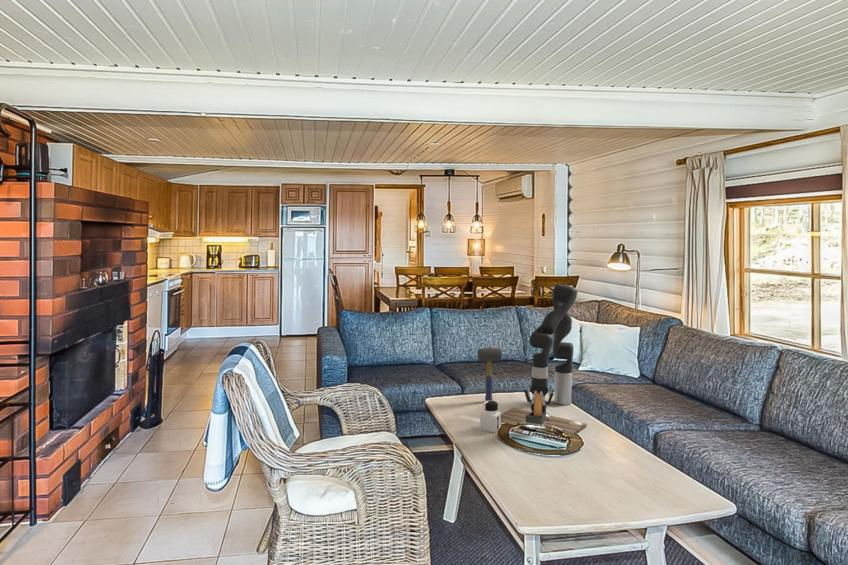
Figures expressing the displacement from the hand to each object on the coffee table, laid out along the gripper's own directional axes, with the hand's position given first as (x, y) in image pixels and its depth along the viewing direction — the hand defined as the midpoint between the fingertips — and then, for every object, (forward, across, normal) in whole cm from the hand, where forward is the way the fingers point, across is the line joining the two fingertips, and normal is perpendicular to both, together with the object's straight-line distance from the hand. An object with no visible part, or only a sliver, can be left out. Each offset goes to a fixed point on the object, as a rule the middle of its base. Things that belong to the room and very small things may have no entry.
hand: (538, 411), depth 249 cm
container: (+9, -21, -8) cm, 24 cm away
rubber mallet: (+9, -32, +35) cm, 48 cm away
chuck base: (+8, -1, +7) cm, 11 cm away
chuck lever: (+7, 0, +5) cm, 9 cm away
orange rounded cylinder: (+4, 0, 0) cm, 4 cm away
